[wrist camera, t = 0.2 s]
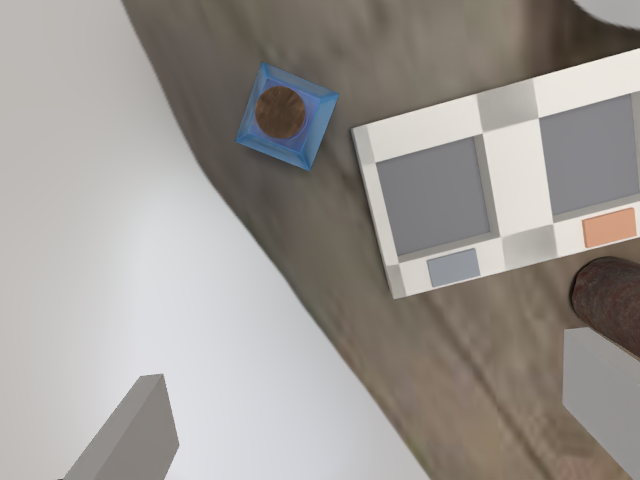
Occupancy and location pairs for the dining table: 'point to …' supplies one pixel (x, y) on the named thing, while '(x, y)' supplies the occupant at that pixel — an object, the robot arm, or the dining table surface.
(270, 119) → the perfume bottle
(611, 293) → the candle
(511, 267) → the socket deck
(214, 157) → the dining table surface
